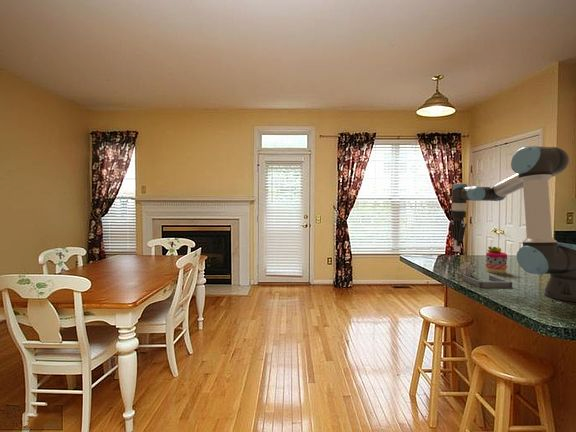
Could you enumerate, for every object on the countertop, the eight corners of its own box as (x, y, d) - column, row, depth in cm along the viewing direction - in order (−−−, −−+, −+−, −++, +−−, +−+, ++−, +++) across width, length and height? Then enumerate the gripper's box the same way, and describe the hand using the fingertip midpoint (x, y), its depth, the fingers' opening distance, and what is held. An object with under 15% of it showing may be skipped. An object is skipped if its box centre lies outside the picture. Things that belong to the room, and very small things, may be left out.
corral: (512, 287, 155) (512, 282, 155) (480, 287, 155) (480, 282, 155) (491, 279, 171) (491, 275, 170) (462, 279, 170) (462, 274, 170)
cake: (489, 269, 198) (490, 244, 198) (509, 272, 190) (510, 246, 190) (482, 271, 192) (483, 245, 191) (503, 274, 184) (504, 248, 183)
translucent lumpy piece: (470, 283, 178) (482, 270, 173) (455, 277, 178) (467, 264, 173) (466, 272, 186) (477, 260, 180) (452, 266, 186) (463, 254, 180)
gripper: (471, 211, 181) (469, 253, 183) (458, 210, 194) (457, 249, 196) (458, 211, 181) (456, 253, 182) (446, 210, 194) (444, 249, 195)
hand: (456, 251), depth 189 cm, fingers closed
